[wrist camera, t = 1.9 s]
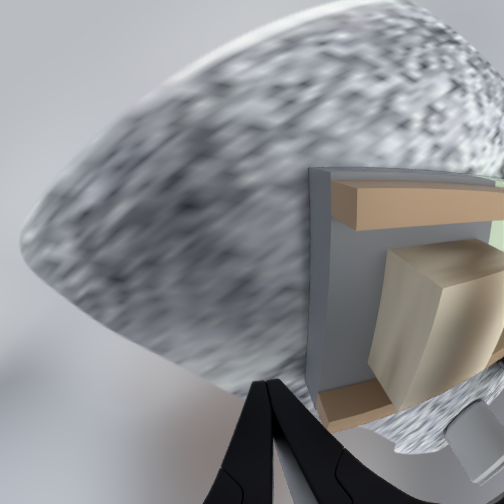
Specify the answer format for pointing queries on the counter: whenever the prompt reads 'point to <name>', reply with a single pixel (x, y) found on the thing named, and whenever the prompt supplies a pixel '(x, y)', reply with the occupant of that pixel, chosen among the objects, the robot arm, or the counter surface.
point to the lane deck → (377, 268)
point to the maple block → (437, 318)
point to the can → (477, 441)
